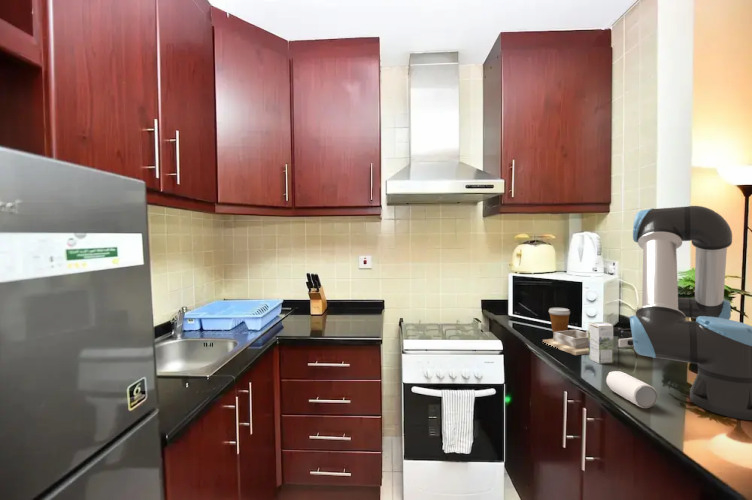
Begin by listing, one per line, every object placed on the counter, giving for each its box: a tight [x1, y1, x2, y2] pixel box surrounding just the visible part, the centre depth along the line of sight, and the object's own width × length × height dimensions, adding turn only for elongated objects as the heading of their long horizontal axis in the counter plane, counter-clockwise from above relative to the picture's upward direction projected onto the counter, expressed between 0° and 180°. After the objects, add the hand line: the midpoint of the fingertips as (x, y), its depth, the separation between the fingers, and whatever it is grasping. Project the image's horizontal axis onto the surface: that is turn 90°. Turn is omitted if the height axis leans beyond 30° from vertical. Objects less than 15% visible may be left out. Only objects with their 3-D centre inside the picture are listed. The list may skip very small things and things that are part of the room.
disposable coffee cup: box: [548, 307, 571, 333], centre depth 167 cm, size 10×10×12 cm
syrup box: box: [587, 321, 614, 365], centre depth 127 cm, size 6×6×14 cm
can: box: [605, 370, 658, 409], centre depth 97 cm, size 6×6×12 cm
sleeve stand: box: [542, 328, 589, 356], centre depth 145 cm, size 18×18×6 cm
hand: (602, 338), depth 128 cm, fingers open, 13 cm apart
